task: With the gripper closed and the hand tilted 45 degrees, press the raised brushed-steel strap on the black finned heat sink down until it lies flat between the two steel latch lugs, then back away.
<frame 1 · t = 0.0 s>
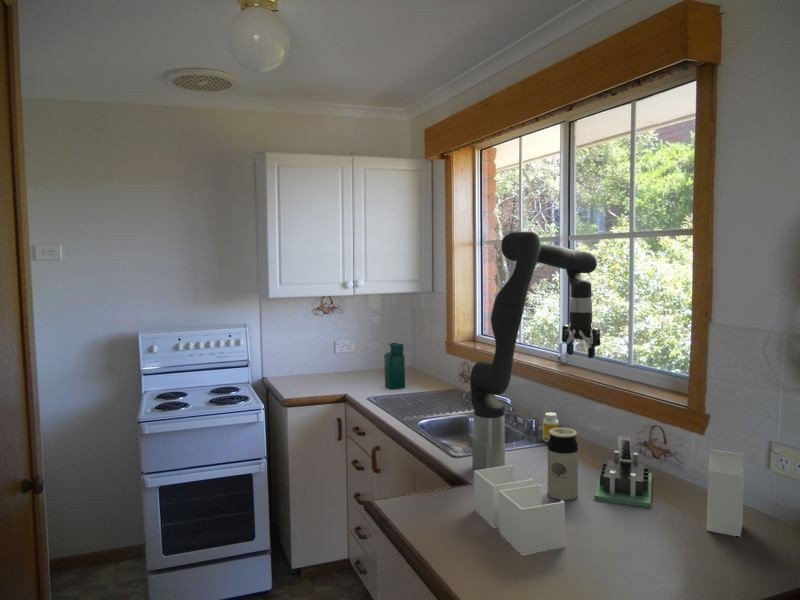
hand: (580, 356, 213), 29 cm above the counter, tool pointing down, fingers open, 8 cm apart
heat sink: (624, 473, 171), on the circuit board, point 4 cm above the counter
circuit board: (624, 488, 172), on the counter
supplement bottle: (550, 441, 214), on the counter
milk carton: (724, 529, 147), on the counter
travel mug: (562, 495, 168), on the counter
retention strap: (625, 449, 172), point 11 cm above the counter, hinge at 40.0°
white divided organizer: (516, 529, 150), on the counter
green bottle: (395, 387, 297), on the counter
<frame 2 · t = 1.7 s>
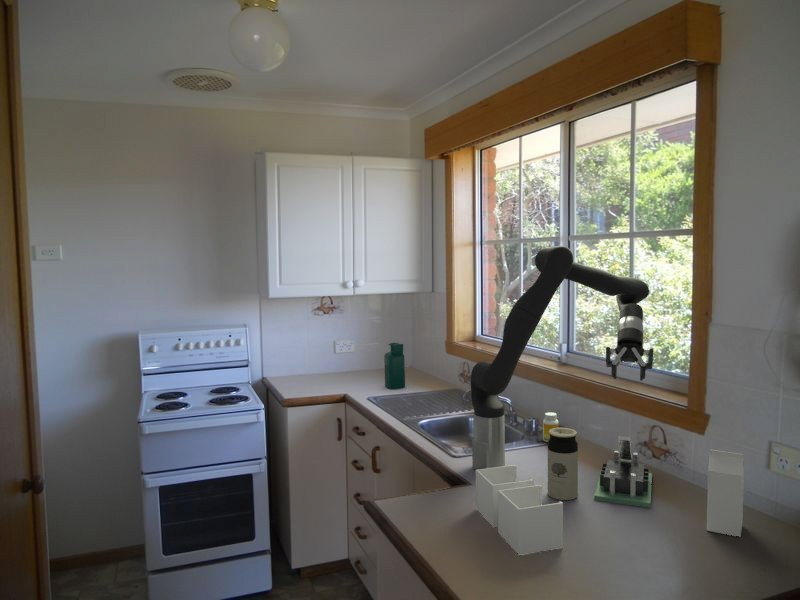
hand: (628, 378, 182), 28 cm above the counter, tool tilted 45°, fingers open, 7 cm apart
nothing on the counter moved.
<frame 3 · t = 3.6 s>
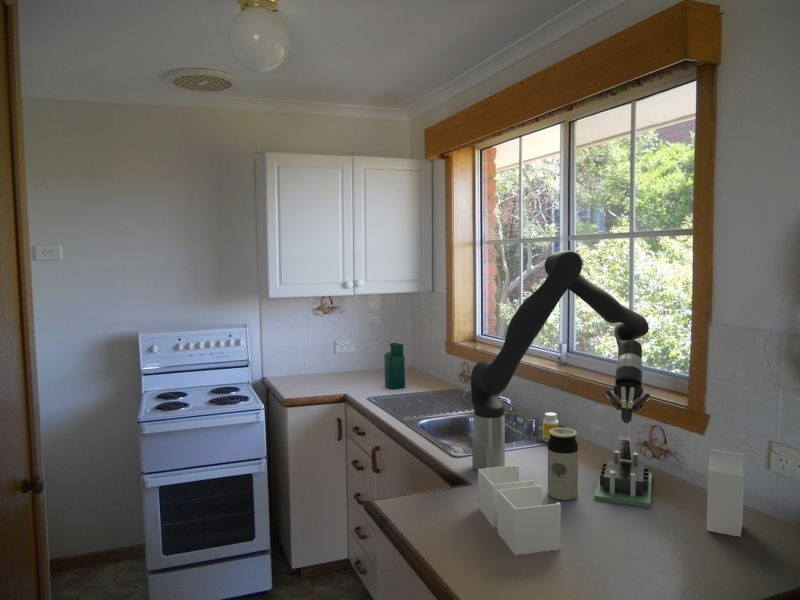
hand: (626, 421, 177), 17 cm above the counter, tool tilted 45°, fingers closed
nothing on the counter moved.
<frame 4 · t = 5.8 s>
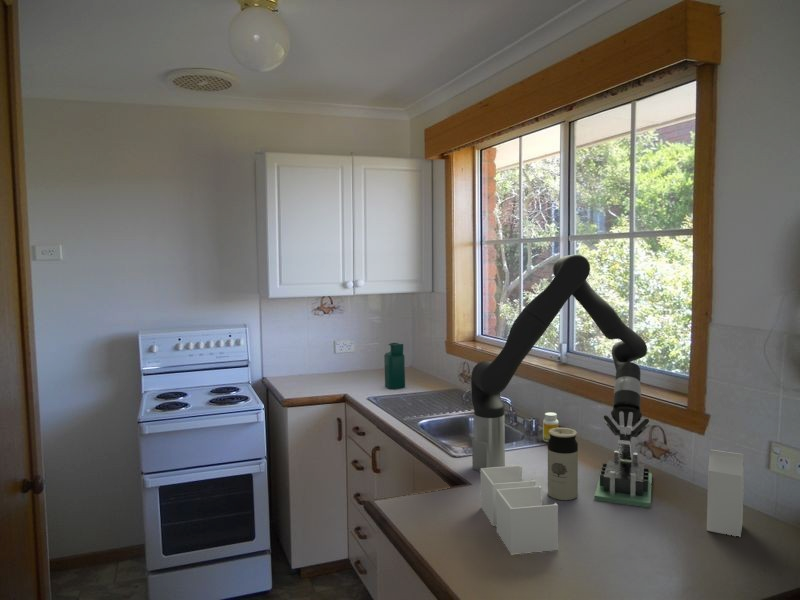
hand: (625, 448, 172), 11 cm above the counter, tool tilted 45°, fingers closed
retention strap: (625, 451, 172), point 10 cm above the counter, hinge at 35.8°, touching gripper
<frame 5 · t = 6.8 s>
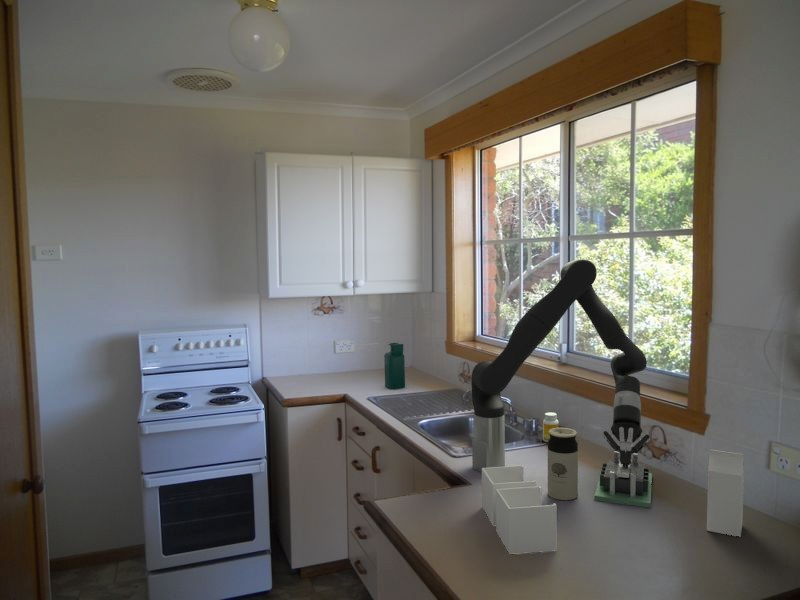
hand: (625, 465, 169), 7 cm above the counter, tool tilted 45°, fingers closed
retention strap: (624, 466, 171), point 6 cm above the counter, hinge at 3.1°, touching gripper
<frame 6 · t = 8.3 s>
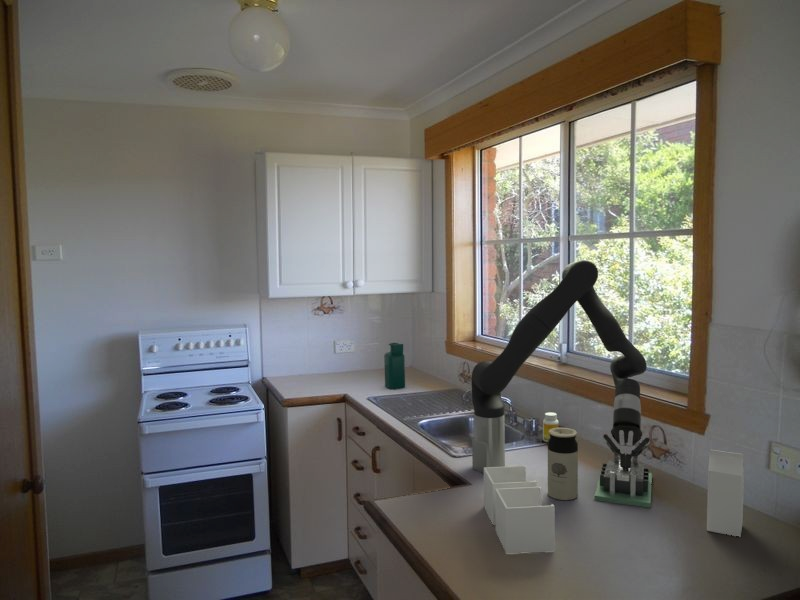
hand: (625, 468, 168), 7 cm above the counter, tool tilted 45°, fingers closed
retention strap: (624, 468, 171), point 6 cm above the counter, hinge at -0.4°, touching gripper, heat sink
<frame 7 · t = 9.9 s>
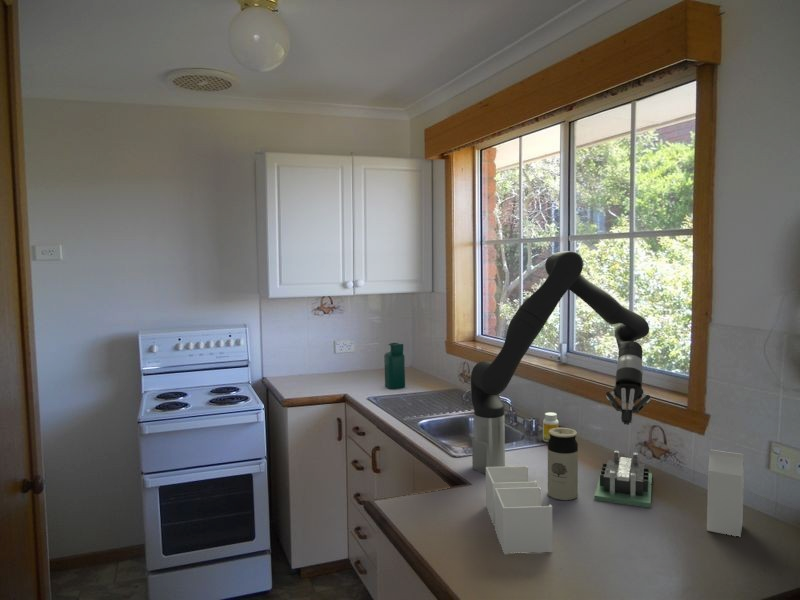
hand: (626, 423, 176), 17 cm above the counter, tool tilted 45°, fingers closed
retention strap: (624, 468, 171), point 6 cm above the counter, hinge at -0.4°, touching heat sink
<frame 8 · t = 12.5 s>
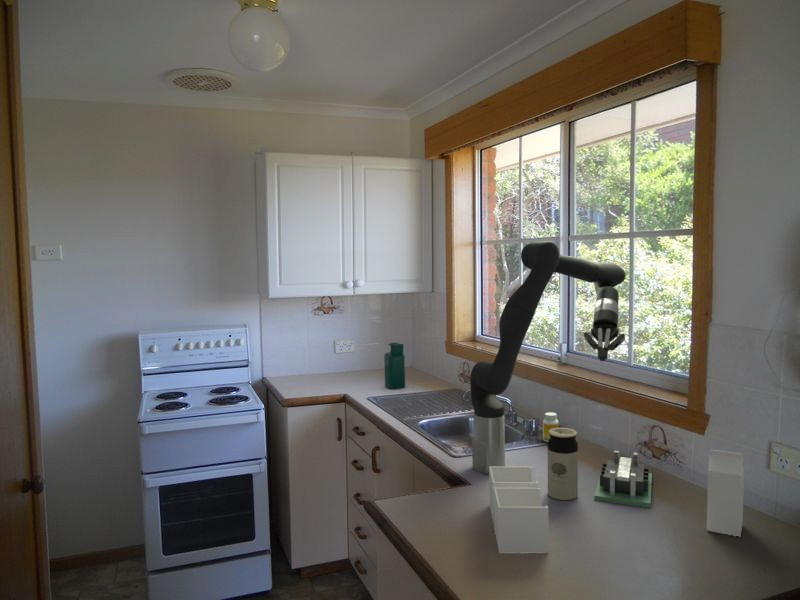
hand: (602, 359, 188), 33 cm above the counter, tool tilted 45°, fingers closed
at the end: retention strap at +0° (first picture: +40°); travel mug moved 0.2 cm from its start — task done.
